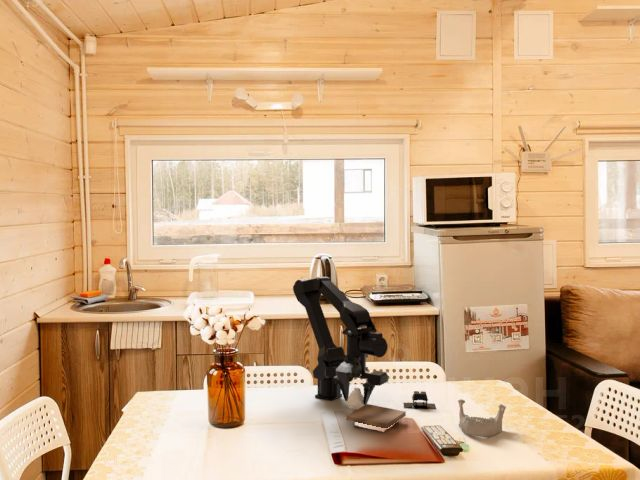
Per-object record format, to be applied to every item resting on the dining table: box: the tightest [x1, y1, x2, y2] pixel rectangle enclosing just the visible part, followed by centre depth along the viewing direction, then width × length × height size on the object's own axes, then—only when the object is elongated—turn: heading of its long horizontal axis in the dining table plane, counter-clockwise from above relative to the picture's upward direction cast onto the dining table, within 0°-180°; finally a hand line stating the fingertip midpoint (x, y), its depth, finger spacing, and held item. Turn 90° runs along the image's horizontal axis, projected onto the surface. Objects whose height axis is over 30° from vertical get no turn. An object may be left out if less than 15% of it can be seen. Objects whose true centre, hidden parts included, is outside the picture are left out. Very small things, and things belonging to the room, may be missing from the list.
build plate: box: [403, 390, 437, 410], centre depth 185 cm, size 12×7×5 cm, turn 85°
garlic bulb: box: [346, 386, 365, 410], centre depth 183 cm, size 6×6×5 cm
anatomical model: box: [457, 398, 507, 438], centre depth 164 cm, size 13×11×10 cm
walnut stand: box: [345, 403, 407, 428], centre depth 168 cm, size 12×12×3 cm
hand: (355, 402), depth 183 cm, fingers open, 6 cm apart
